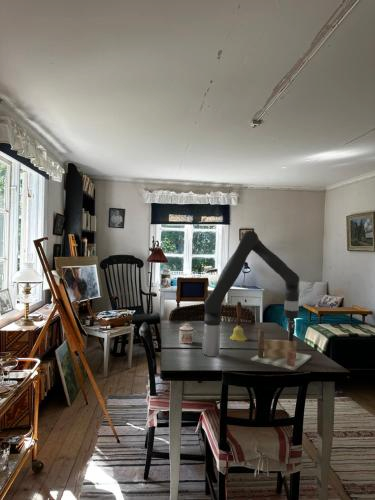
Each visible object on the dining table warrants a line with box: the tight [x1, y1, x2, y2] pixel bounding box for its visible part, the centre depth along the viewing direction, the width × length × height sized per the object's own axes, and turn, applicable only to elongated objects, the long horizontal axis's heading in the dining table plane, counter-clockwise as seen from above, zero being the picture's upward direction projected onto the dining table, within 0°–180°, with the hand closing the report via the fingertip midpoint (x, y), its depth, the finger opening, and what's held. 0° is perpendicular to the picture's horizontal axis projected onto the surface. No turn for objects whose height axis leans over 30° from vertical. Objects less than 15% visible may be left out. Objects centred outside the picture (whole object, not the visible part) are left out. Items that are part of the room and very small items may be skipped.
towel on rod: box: [250, 328, 312, 371], centre depth 193 cm, size 24×28×16 cm
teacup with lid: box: [178, 323, 199, 344], centre depth 222 cm, size 12×9×12 cm
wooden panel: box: [264, 331, 297, 358], centre depth 191 cm, size 17×2×15 cm, turn 86°
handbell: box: [229, 301, 248, 342], centre depth 234 cm, size 12×12×25 cm
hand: (290, 340), depth 191 cm, fingers closed on wooden panel, 2 cm apart
